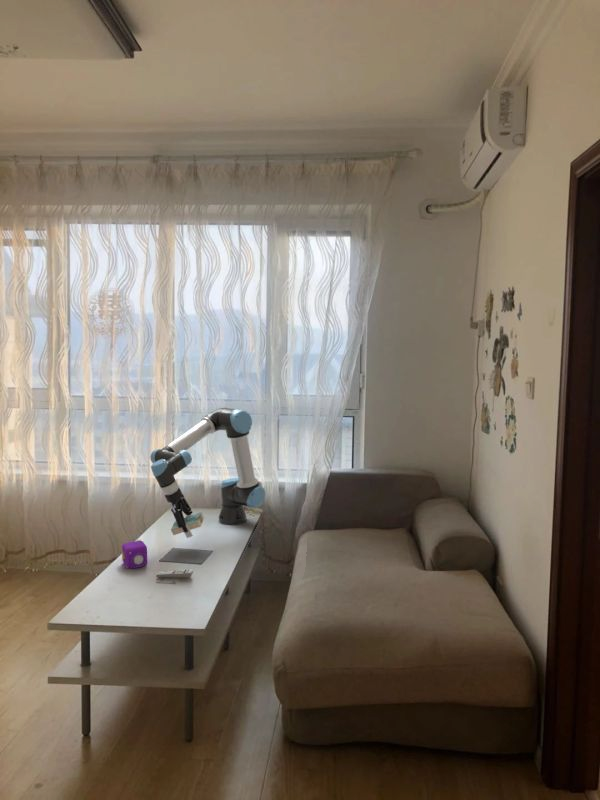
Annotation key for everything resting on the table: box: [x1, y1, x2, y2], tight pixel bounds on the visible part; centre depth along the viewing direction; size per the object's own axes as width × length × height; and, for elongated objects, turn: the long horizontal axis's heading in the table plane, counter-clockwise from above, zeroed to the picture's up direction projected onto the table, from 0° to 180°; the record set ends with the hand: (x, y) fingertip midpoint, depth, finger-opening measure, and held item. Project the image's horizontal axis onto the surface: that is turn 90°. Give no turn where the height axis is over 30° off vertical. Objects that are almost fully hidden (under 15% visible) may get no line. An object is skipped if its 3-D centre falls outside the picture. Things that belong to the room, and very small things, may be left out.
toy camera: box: [121, 539, 148, 569], centre depth 256 cm, size 11×14×10 cm
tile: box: [170, 512, 205, 536], centre depth 273 cm, size 8×3×14 cm
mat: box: [158, 547, 214, 565], centre depth 267 cm, size 16×20×1 cm
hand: (191, 531), depth 275 cm, fingers closed on tile, 8 cm apart
